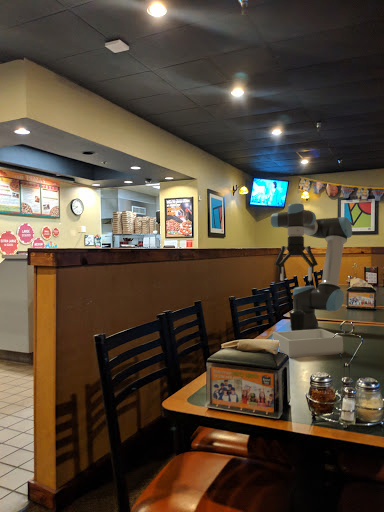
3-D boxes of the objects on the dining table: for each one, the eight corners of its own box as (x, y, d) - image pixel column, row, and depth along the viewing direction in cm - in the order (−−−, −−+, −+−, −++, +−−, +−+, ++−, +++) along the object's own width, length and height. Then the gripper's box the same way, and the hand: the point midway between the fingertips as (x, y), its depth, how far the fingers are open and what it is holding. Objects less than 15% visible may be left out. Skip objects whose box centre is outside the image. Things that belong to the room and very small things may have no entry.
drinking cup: (306, 341, 191) (305, 299, 190) (289, 341, 192) (288, 299, 192) (305, 338, 198) (304, 298, 198) (289, 338, 200) (288, 298, 199)
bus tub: (322, 343, 185) (321, 328, 185) (343, 353, 168) (342, 336, 168) (272, 347, 181) (272, 332, 181) (289, 357, 164) (288, 340, 164)
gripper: (271, 235, 187) (272, 280, 187) (324, 235, 188) (324, 280, 188) (268, 236, 195) (268, 280, 194) (318, 236, 196) (318, 280, 195)
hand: (295, 280), depth 191 cm, fingers open, 13 cm apart
